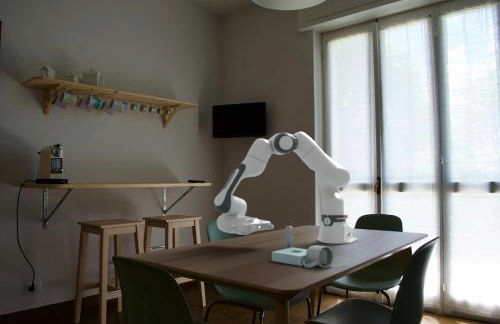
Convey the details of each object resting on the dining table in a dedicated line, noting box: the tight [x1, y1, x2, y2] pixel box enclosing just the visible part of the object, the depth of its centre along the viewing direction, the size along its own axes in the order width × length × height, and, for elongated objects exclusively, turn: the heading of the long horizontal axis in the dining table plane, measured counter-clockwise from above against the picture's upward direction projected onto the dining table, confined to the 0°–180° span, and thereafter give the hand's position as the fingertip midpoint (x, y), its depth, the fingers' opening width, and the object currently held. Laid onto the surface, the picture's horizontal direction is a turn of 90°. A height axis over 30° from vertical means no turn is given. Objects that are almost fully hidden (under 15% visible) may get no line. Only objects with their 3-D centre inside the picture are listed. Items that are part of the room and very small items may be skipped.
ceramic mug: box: [302, 244, 334, 269], centre depth 144 cm, size 11×8×8 cm
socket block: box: [271, 246, 310, 267], centre depth 154 cm, size 14×14×4 cm
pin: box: [284, 225, 294, 249], centre depth 168 cm, size 3×3×12 cm
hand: (266, 227), depth 176 cm, fingers open, 8 cm apart
